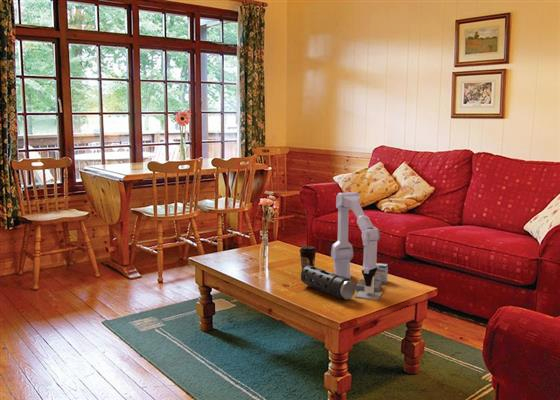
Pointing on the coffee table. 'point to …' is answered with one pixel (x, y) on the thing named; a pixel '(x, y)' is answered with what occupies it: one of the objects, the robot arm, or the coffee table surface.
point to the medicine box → (381, 273)
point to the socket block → (361, 283)
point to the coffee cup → (307, 256)
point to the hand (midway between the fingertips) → (369, 284)
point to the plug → (369, 289)
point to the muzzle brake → (328, 282)
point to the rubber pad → (368, 295)
